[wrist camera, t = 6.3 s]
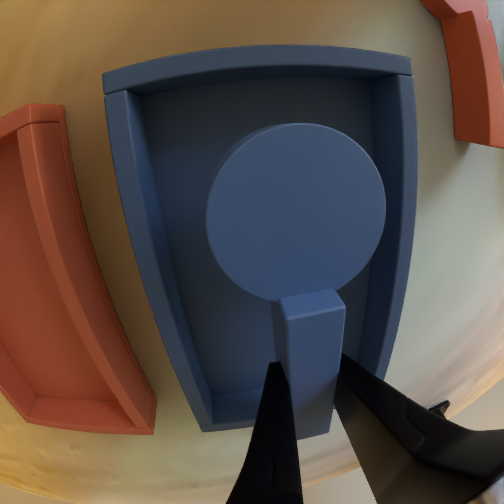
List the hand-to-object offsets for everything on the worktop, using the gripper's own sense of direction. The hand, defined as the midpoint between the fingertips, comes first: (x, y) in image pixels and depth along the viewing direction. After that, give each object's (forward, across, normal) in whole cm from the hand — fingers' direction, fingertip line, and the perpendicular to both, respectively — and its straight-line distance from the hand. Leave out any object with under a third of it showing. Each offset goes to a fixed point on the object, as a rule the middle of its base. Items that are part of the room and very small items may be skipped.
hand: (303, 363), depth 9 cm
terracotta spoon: (+4, -10, -12) cm, 16 cm away
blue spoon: (+1, 0, -2) cm, 2 cm away
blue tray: (+4, 0, -2) cm, 4 cm away
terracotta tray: (+4, +12, -2) cm, 13 cm away
